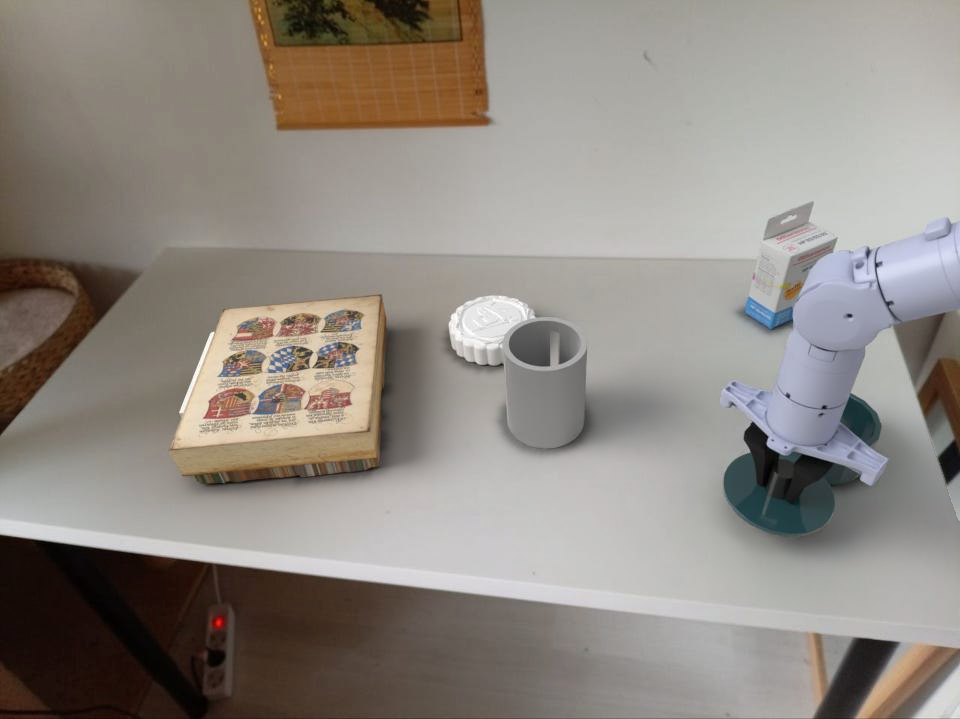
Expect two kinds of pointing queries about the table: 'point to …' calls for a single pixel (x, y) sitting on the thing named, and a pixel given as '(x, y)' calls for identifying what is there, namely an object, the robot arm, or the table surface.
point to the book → (286, 392)
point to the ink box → (785, 264)
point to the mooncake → (485, 327)
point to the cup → (545, 382)
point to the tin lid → (777, 498)
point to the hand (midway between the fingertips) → (778, 487)
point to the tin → (863, 426)
